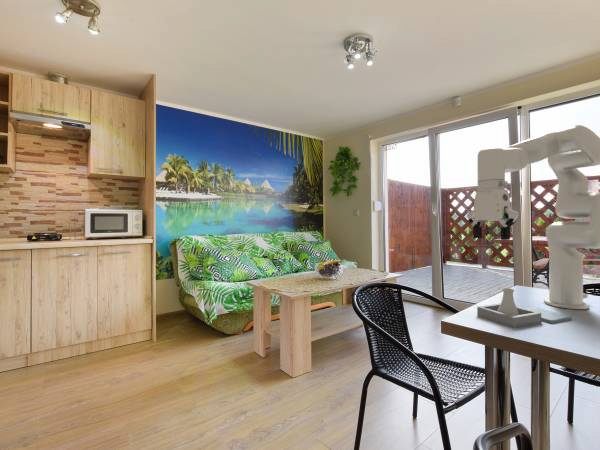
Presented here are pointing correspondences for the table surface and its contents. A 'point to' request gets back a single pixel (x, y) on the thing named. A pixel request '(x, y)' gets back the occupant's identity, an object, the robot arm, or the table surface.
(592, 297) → the table surface
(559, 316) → the board
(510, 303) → the flask
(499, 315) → the grey square tray
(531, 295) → the table surface
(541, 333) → the table surface
